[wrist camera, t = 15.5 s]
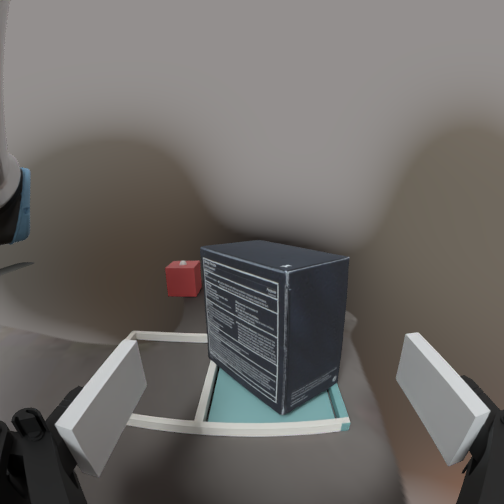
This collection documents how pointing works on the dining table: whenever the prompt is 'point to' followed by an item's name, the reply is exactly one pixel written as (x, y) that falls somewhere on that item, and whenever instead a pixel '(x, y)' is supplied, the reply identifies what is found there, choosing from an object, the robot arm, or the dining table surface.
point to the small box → (275, 318)
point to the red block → (183, 278)
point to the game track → (243, 406)
